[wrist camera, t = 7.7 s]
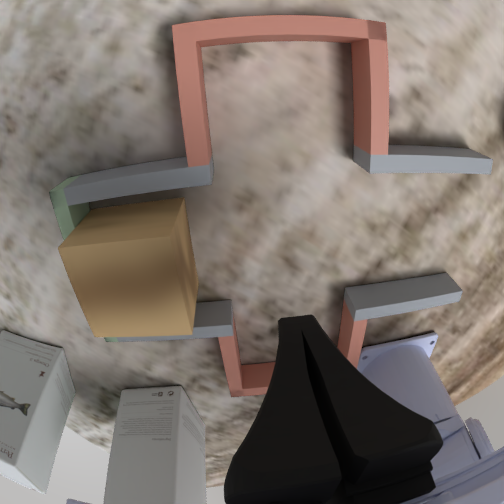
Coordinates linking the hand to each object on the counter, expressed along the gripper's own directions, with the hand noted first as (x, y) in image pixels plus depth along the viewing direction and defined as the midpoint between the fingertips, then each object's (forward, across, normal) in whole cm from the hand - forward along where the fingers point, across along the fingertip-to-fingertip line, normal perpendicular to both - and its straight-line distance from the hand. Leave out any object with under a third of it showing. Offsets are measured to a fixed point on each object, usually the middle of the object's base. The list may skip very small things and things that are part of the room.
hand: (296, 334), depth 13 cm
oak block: (+8, +8, 0) cm, 12 cm away
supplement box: (+9, +23, +11) cm, 27 cm away
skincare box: (+9, +11, +18) cm, 23 cm away
